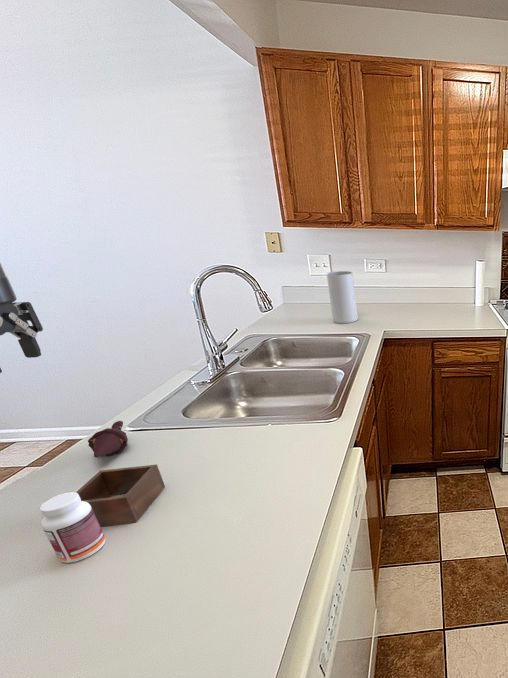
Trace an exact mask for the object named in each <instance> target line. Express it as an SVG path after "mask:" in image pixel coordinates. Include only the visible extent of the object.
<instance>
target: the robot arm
mask: <svg viewBox="0 0 508 678" xmlns="http://www.w3.org/2000/svg"><path fill="white" fill-rule="evenodd" d="M17 299H18V298H17V295H16V293H15V290H14V288H13V286H12V284H11V281H10V278H9V277H8V274H7V272H6V270H5V268H4V266H3V263H2V261H1V260H0V336H3V335H4V334H7V333H9V334H11V335H13V336H14V337H16V338H18V339H17V341H18V343H19V347H20V349H21V350H22V353H23V355H24V356H25V358H27V359H30V358H31V359H32V358H38V357H41V356H42V352H41V347H40V345H39V344H38V341H37V339H36V338H37V335H38V333H39V332H40V333H41V332H43V330H44V327H43V325H42V324H41V321H40V319H39V317H38V314H37V313H36V311H35V308H34V307H33V305H32V303H31V302H29V301H17ZM16 301H17V302H16ZM29 322H30V323H31V325H30V324H29ZM2 372H3V370H2V368H1V367H0V374H1V373H2Z"/></svg>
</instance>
